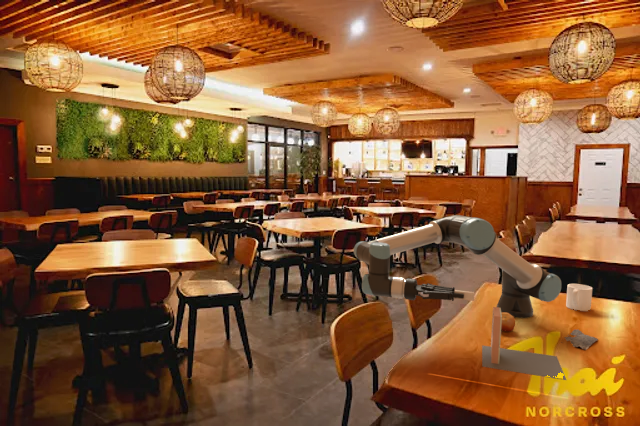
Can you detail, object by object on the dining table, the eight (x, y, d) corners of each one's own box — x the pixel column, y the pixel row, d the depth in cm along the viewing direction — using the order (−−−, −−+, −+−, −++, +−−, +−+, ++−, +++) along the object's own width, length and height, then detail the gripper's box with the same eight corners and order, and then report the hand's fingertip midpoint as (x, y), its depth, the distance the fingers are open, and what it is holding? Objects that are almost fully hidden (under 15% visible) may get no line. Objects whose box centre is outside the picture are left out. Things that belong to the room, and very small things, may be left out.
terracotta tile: (491, 362, 141) (493, 315, 139) (490, 350, 150) (493, 306, 148) (499, 363, 140) (501, 316, 138) (498, 352, 149) (500, 307, 147)
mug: (569, 303, 208) (570, 282, 207) (593, 308, 201) (594, 286, 200) (561, 308, 199) (563, 287, 198) (586, 314, 192) (587, 291, 191)
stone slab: (573, 328, 172) (602, 334, 164) (573, 332, 172) (602, 338, 164) (556, 341, 160) (586, 348, 152) (556, 345, 160) (586, 353, 152)
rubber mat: (482, 367, 138) (482, 366, 138) (482, 346, 155) (482, 345, 155) (566, 381, 130) (566, 380, 129) (556, 357, 146) (556, 356, 146)
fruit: (513, 323, 175) (515, 310, 171) (514, 338, 169) (516, 325, 165) (492, 320, 178) (493, 307, 173) (492, 335, 172) (494, 322, 167)
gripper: (407, 293, 160) (474, 301, 152) (401, 303, 148) (473, 312, 140) (408, 274, 159) (475, 281, 151) (402, 282, 147) (474, 290, 139)
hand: (474, 296), depth 145 cm, fingers closed
